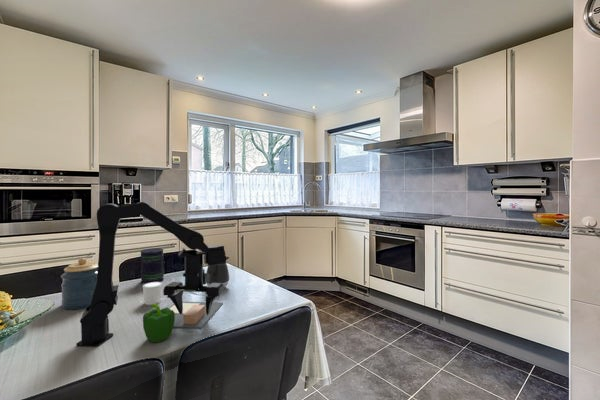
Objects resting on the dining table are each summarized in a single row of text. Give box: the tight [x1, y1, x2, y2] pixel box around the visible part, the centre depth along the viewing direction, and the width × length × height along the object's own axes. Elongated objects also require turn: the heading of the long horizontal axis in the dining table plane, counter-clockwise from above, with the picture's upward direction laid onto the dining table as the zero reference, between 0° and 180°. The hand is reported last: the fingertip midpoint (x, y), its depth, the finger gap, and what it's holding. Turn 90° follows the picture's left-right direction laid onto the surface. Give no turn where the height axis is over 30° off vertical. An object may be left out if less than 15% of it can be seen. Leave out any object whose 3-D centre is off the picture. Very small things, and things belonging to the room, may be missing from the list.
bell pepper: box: [142, 303, 175, 343], centre depth 85 cm, size 8×8×10 cm
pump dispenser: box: [205, 256, 230, 289], centre depth 128 cm, size 10×10×15 cm
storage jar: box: [140, 247, 165, 285], centre depth 138 cm, size 10×10×15 cm
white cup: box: [142, 282, 163, 306], centre depth 112 cm, size 7×7×7 cm
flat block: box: [183, 305, 205, 324], centre depth 97 cm, size 8×4×3 cm, turn 176°
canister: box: [60, 257, 98, 310], centre depth 111 cm, size 13×13×18 cm
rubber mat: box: [168, 301, 224, 329], centre depth 101 cm, size 20×18×1 cm
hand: (194, 314), depth 97 cm, fingers open, 9 cm apart
